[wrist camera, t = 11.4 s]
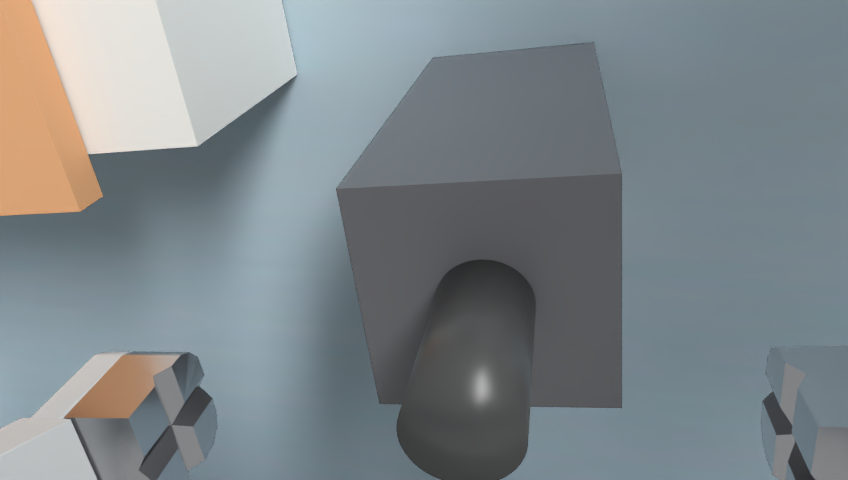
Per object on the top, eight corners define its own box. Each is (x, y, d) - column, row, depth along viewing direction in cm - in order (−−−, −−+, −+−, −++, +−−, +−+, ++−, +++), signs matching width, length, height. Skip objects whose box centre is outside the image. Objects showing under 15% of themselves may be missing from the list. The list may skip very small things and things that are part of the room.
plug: (432, 57, 18) (260, 292, 8) (593, 42, 17) (644, 283, 7) (450, 200, 20) (330, 545, 10) (596, 193, 19) (640, 566, 9)
